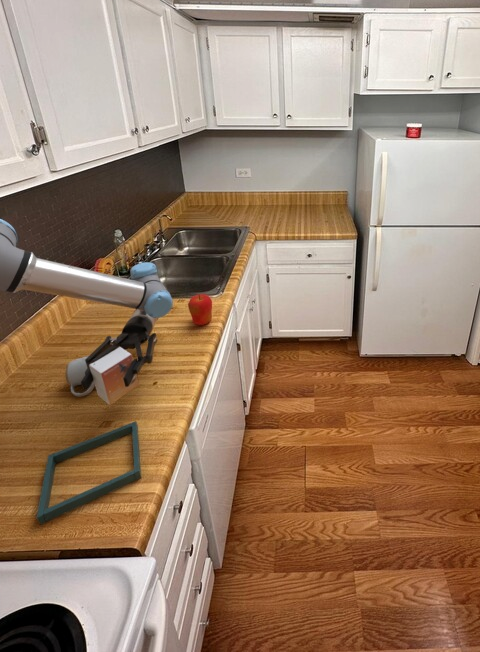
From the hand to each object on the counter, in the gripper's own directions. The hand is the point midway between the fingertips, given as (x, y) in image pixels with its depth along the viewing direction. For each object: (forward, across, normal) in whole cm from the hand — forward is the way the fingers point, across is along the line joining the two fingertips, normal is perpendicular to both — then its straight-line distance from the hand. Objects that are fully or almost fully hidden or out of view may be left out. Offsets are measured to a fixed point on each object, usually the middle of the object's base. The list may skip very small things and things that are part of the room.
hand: (105, 384), depth 81 cm
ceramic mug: (-15, -14, +14) cm, 25 cm away
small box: (-5, 0, +7) cm, 9 cm away
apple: (-41, +13, +14) cm, 45 cm away
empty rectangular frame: (+12, 0, +14) cm, 18 cm away
